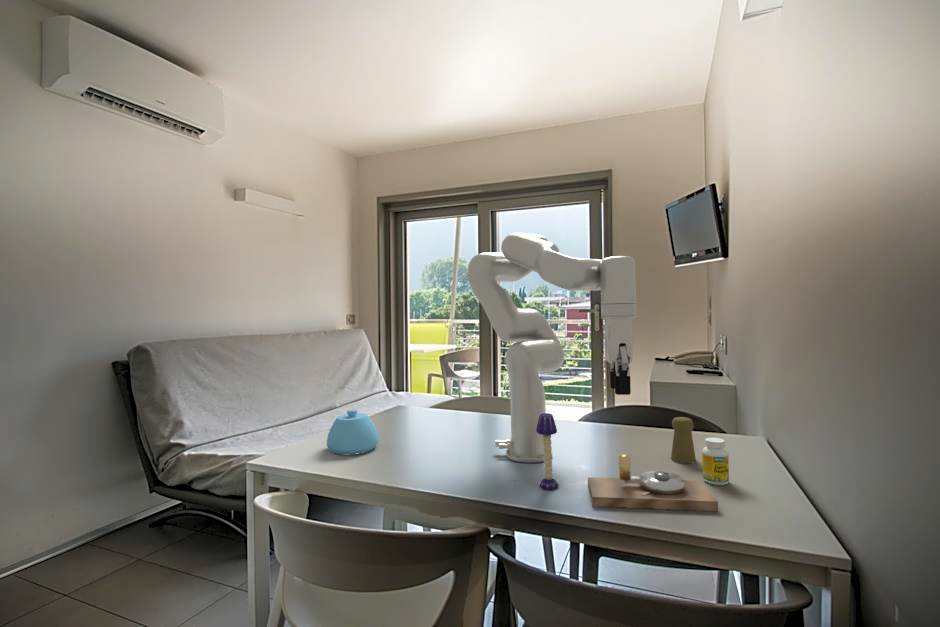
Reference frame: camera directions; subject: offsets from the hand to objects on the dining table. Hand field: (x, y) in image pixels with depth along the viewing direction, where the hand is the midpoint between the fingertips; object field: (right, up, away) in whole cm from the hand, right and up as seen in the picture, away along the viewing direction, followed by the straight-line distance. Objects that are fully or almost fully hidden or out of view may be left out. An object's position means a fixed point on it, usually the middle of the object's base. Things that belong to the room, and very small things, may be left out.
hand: (620, 390), depth 108 cm
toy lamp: (-16, -22, +1) cm, 27 cm away
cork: (+22, -21, +17) cm, 35 cm away
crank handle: (+5, -19, -5) cm, 21 cm away
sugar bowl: (-68, -23, +35) cm, 80 cm away
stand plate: (+4, -22, -6) cm, 23 cm away
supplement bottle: (+23, -21, +2) cm, 31 cm away
